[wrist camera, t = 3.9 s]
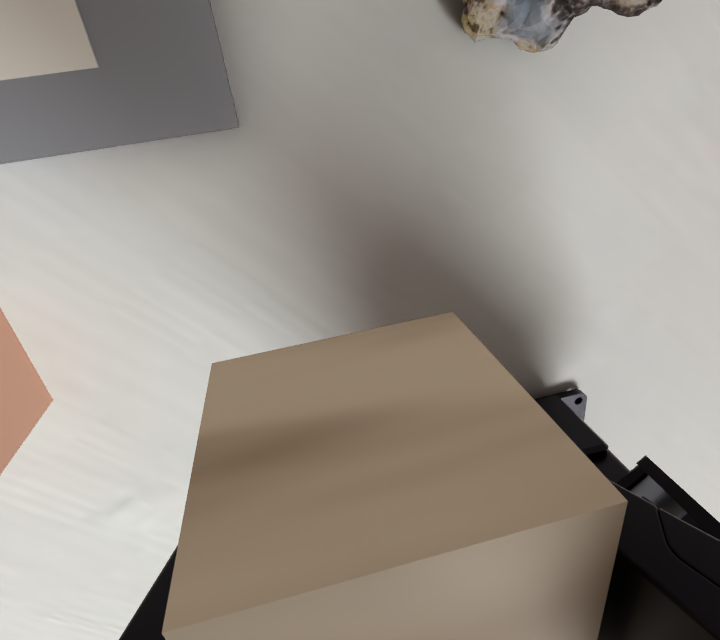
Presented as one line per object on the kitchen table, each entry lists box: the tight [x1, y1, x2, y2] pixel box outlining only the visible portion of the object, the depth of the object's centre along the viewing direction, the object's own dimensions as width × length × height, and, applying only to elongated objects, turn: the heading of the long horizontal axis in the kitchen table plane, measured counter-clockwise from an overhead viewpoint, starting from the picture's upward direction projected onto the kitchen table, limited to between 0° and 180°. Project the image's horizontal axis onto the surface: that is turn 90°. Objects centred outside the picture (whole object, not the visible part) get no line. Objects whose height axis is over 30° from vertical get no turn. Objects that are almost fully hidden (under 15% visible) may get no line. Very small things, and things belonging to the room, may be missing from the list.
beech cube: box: [162, 312, 628, 640], centre depth 8 cm, size 5×5×5 cm
